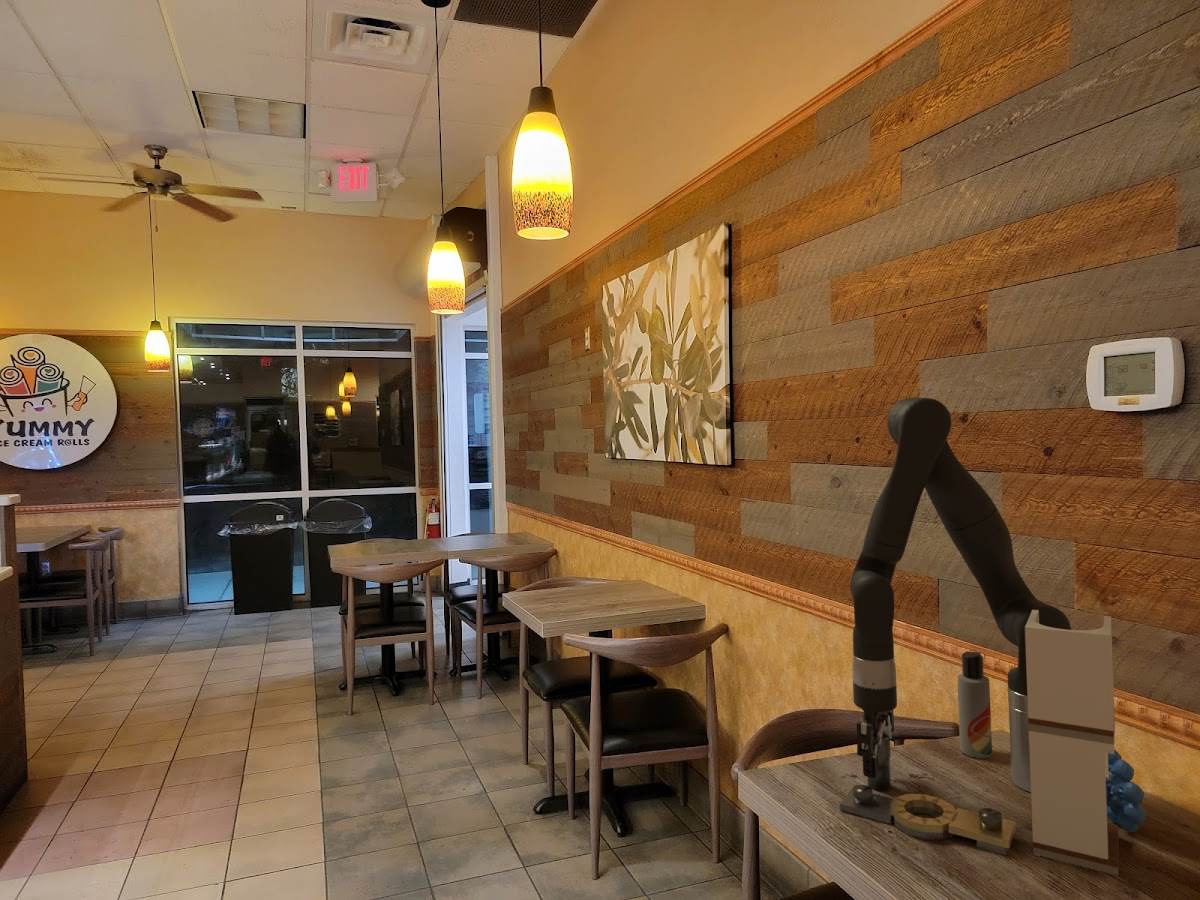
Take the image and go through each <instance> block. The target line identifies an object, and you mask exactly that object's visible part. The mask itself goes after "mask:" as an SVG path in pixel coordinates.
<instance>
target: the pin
mask: <svg viewBox="0 0 1200 900" xmlns="http://www.w3.org/2000/svg"><path fill="white" fill-rule="evenodd" d="M873 739H876V738H874V737H873ZM889 740H890V739H889V738H888V736H886V735H884V734H882V741H881V745H880V746H878V747H877V756H876V765H877V776H876V777H875V778H871V777H867V779H866V780H867V786H869V787H871V788H872V790H873V789H874V790H873V791H876V790H877V792H887V791H889V790H891V789H890V788H892V783H891V781H892V779H891V763H890V762H891V757H890V755H891V753H890V754H889ZM866 749H868V745H866Z"/></svg>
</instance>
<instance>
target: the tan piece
mask: <svg viewBox="0 0 1200 900" xmlns="http://www.w3.org/2000/svg"><path fill="white" fill-rule="evenodd" d="M840 810H842V811H841V812H843V811H845V812H844V813H847V812H849V813H848V814H851V813H853V814H852V815H854V814H856V815H855V816H858V815H860V816H859V817H862V816H863V817H862V818H866V817H867V818H866V819H869V818H870V820H873V819H874V821H878V820H879V821H878V822H880V821H881V822H880V823H884V822H887V823H886V824H888V823H890V824H889V825H892V823H894V824H893V825H895V826H894V828H896V829H898V830H899V831H901V832H902V831H903V834H906V835H907V836H910V837H914V836H915V838H917V837H918V839H921V840H924V841H925V840H926V841H927V840H928V841H930V840H931V841H932V840H933V841H944V840H947V839H950V838H952V837H955V836H959V837H960V836H961V837H964V838H967V839H972V840H975V841H976V848H978V849H981V850H985V851H989V852H991V853H995V854H999V855H1002V856H1006V855H1007V853H1008V850H1009V849H1010V847H1011V845H1012V841H1013V838H1014V835H1015V833H1016V829H1017V827H1016V821H1014V820H1010V819H1006V818H1003V814H1002V813H1001V812H1000V811H999V810H997V809H993V808H990V807H983V808H980V809H979V810H978V812H977V811H973V810H968V809H965V808H959V807H957V808H955V805H953V804H952V803H950V802H948V801H946V800H944V799H942V798H940V797H937V796H932V795H929V794H925V793H906V794H903V795H898V796H895V797H894V798H892V797H888V796H884V795H880V794H876V793H874V790H873V789H872V788H871V787H869V786H868V784H867V785H866V784H856V785H854V786H853V787H852V788H851V789H850V791H849V792H848V793H847V794H846V795H845V797H844V798H843V799H842V800H841V802H840V803H839V811H840ZM914 813H915V815H914ZM916 813H924V814H923V815H927V814H929V815H928V816H931V815H932V817H934V816H935V818H927V817H926V818H924V817H921V816H916ZM936 817H937V818H936ZM892 821H893V822H892ZM955 834H956V835H955ZM954 835H955V836H954ZM951 836H952V837H951ZM949 837H950V838H949ZM946 838H947V839H946ZM935 839H936V840H935ZM937 839H938V840H937ZM940 839H941V840H940ZM943 839H944V840H943Z"/></svg>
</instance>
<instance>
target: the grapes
mask: <svg viewBox="0 0 1200 900" xmlns="http://www.w3.org/2000/svg"><path fill="white" fill-rule="evenodd" d="M1108 771H1109V779H1106V805H1107V819H1109V820H1110V821H1111V822H1112V823H1113V824H1116V825H1118V826H1120V827H1121V828H1122V829H1123V830H1125V831H1126V832H1128V833H1132V834H1133V833H1135V832H1137V830H1138V828H1139V826H1141V825H1142V824H1144V823H1145V820H1146V816H1147V813H1146V811H1145V810H1144V809H1143V807H1142V806H1141V805H1140V804H1141V803H1142V802H1143V800H1144V797H1145V792H1144V790H1143V789H1142V788H1141V787H1140V785H1138V783H1135V782H1134V781H1132V780H1133V778H1134V776H1135V769H1134V768H1133V766H1132V765H1131V764H1130V763H1129V762H1128V761H1125V760H1124V759H1123V758H1122V755H1121V754H1120V753H1119V752H1118V751H1117V750H1116V749H1115V748H1114V754H1109V753H1108Z"/></svg>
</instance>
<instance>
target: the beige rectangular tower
mask: <svg viewBox="0 0 1200 900" xmlns="http://www.w3.org/2000/svg"><path fill="white" fill-rule="evenodd" d="M1112 631H1113V630H1112V616H1111V615H1104V616H1103V626H1102V627H1100V628H1096V629H1085V630H1084V629H1083V630H1082V629H1081V630H1077V629H1071V630H1065V629H1057V628H1052V627H1047V626H1044V625H1041V624H1039V610H1032V612H1031V614H1030V616H1029V619H1028V621H1027V624H1026V626H1025V642H1026V669H1027V696H1028V723H1029V750H1030V776H1031V792H1030V794H1031V795H1030V797H1031V799H1030V800H1031V822H1032V823H1031V824H1032V826H1031V827H1032V828H1031V829H1032V853H1033V854H1034V855H1033V856H1036V855H1040V856H1045V857H1049V858H1051V859H1050V860H1052V859H1054V860H1053V861H1056V860H1057V861H1056V862H1061V863H1064V862H1066V863H1065V864H1068V863H1070V864H1069V865H1072V864H1076V865H1079V866H1078V867H1080V866H1084V867H1086V868H1085V869H1088V868H1091V869H1090V870H1093V869H1095V870H1094V871H1097V870H1099V871H1098V872H1101V871H1102V872H1101V873H1105V872H1106V873H1105V874H1109V875H1113V876H1117V877H1119V857H1120V856H1119V845H1120V844H1119V841H1120V840H1119V837H1120V836H1119V824H1116V823H1110V822H1108V817H1107V805H1106V779H1109V771H1108V753H1109V754H1114V749H1115V742H1116V741H1115V735H1116V734H1115V733H1116V720H1115V718H1116V717H1115V716H1116V715H1115V692H1114V691H1115V689H1114V687H1115V686H1114V667H1113V666H1114V661H1113V657H1114V656H1113V633H1112ZM1035 854H1036V855H1035ZM1040 856H1039V857H1040ZM1076 865H1075V866H1076ZM1084 867H1083V868H1084Z"/></svg>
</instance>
